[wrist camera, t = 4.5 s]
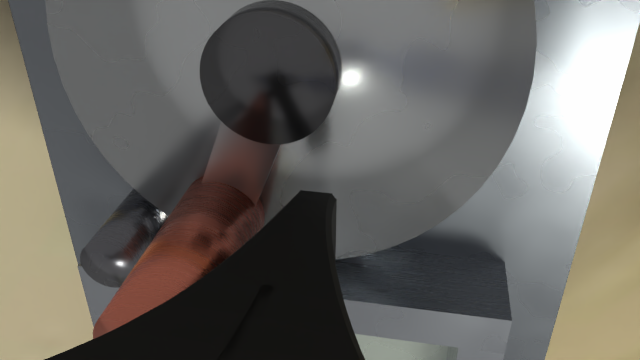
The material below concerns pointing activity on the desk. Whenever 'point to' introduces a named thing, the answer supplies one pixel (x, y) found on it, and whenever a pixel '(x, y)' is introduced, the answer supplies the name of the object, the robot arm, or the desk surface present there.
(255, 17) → the crank
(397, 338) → the crank bench
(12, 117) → the desk surface
